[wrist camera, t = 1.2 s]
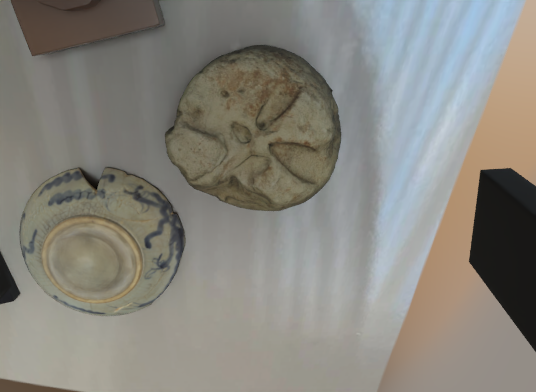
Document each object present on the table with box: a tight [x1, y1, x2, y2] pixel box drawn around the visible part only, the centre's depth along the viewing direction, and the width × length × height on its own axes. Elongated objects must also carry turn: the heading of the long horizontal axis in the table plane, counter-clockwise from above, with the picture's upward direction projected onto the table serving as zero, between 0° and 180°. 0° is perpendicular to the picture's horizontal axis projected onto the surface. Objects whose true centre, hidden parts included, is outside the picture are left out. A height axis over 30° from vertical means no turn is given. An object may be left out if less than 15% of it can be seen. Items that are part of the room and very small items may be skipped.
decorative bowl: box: [20, 168, 185, 316], centre depth 41 cm, size 15×4×15 cm
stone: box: [165, 45, 341, 211], centre depth 37 cm, size 13×13×5 cm
